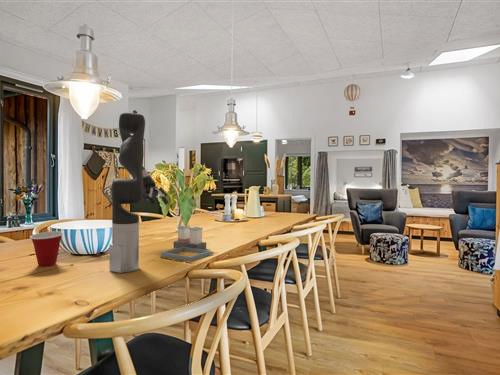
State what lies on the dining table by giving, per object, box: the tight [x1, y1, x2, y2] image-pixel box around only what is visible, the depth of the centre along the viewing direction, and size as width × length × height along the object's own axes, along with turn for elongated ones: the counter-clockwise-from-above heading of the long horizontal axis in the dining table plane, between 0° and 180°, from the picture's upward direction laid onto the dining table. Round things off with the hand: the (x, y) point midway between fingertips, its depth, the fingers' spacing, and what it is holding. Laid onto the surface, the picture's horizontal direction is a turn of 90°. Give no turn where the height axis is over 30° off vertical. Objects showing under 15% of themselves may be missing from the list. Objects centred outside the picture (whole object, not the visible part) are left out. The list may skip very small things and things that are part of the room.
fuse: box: [190, 226, 203, 244], centre depth 153 cm, size 4×4×10 cm
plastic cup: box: [29, 230, 64, 268], centre depth 126 cm, size 11×11×12 cm
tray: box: [160, 247, 212, 264], centre depth 141 cm, size 14×16×2 cm
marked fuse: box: [177, 225, 191, 242], centre depth 157 cm, size 4×4×10 cm
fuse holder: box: [173, 240, 207, 250], centre depth 155 cm, size 7×14×4 cm, turn 60°
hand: (160, 204), depth 164 cm, fingers open, 8 cm apart
